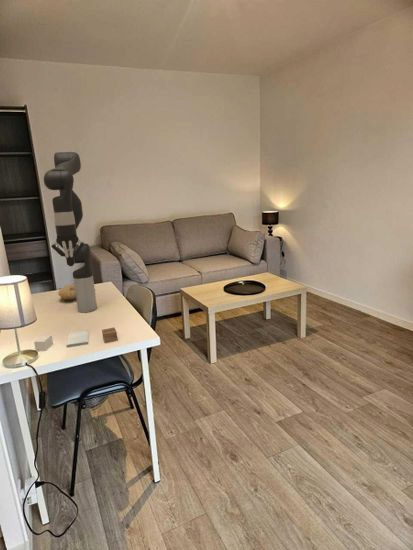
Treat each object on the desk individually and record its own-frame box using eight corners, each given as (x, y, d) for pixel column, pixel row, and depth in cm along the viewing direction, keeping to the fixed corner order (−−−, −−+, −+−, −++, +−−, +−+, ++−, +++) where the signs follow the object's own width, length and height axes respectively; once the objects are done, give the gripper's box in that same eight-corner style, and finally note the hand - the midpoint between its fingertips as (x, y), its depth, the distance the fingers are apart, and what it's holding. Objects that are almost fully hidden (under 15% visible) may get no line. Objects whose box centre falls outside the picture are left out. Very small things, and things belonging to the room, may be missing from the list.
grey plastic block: (43, 344, 145) (41, 335, 144) (53, 344, 145) (51, 335, 144) (35, 351, 139) (34, 341, 138) (45, 351, 139) (44, 341, 138)
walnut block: (103, 338, 148) (101, 329, 147) (115, 336, 150) (114, 327, 149) (104, 343, 144) (103, 334, 143) (117, 340, 145) (116, 331, 144)
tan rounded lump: (94, 291, 214) (101, 299, 202) (55, 296, 202) (61, 305, 190) (93, 278, 212) (101, 285, 200) (54, 283, 200) (60, 290, 188)
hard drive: (88, 341, 143) (88, 329, 154) (66, 345, 141) (68, 332, 152) (88, 345, 143) (89, 333, 155) (66, 348, 141) (68, 336, 153)
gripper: (83, 221, 148) (89, 262, 153) (49, 223, 146) (55, 265, 150) (81, 223, 141) (87, 266, 146) (45, 225, 139) (52, 269, 143)
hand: (71, 265), depth 148 cm, fingers closed
